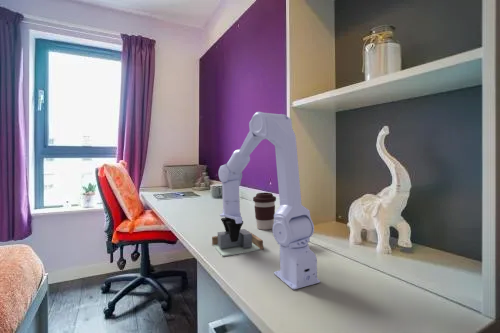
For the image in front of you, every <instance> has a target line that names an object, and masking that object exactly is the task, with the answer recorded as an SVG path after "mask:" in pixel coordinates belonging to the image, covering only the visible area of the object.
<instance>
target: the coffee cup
mask: <svg viewBox="0 0 500 333" xmlns="http://www.w3.org/2000/svg"><path fill="white" fill-rule="evenodd" d="M252 201H253V203H254V215H255V221H256V228H257V229H259V230H261V231H262V230H263V231H265V230H266V231H269V230H273V224H274V214H275V213H276V204H275V203H276V201H277V196H275V195H273V193H272V192H258V193H256V195H255V196H253V197H252Z"/></svg>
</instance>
